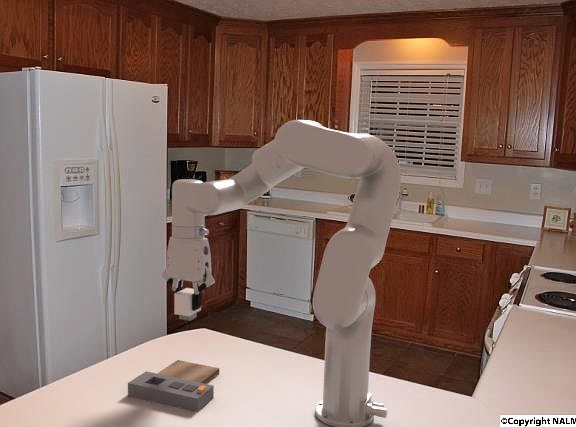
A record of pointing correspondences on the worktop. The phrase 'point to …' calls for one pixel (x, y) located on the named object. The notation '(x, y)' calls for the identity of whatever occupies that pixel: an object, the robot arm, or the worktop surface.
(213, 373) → the pad
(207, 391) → the power strip
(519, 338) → the worktop surface
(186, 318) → the block
